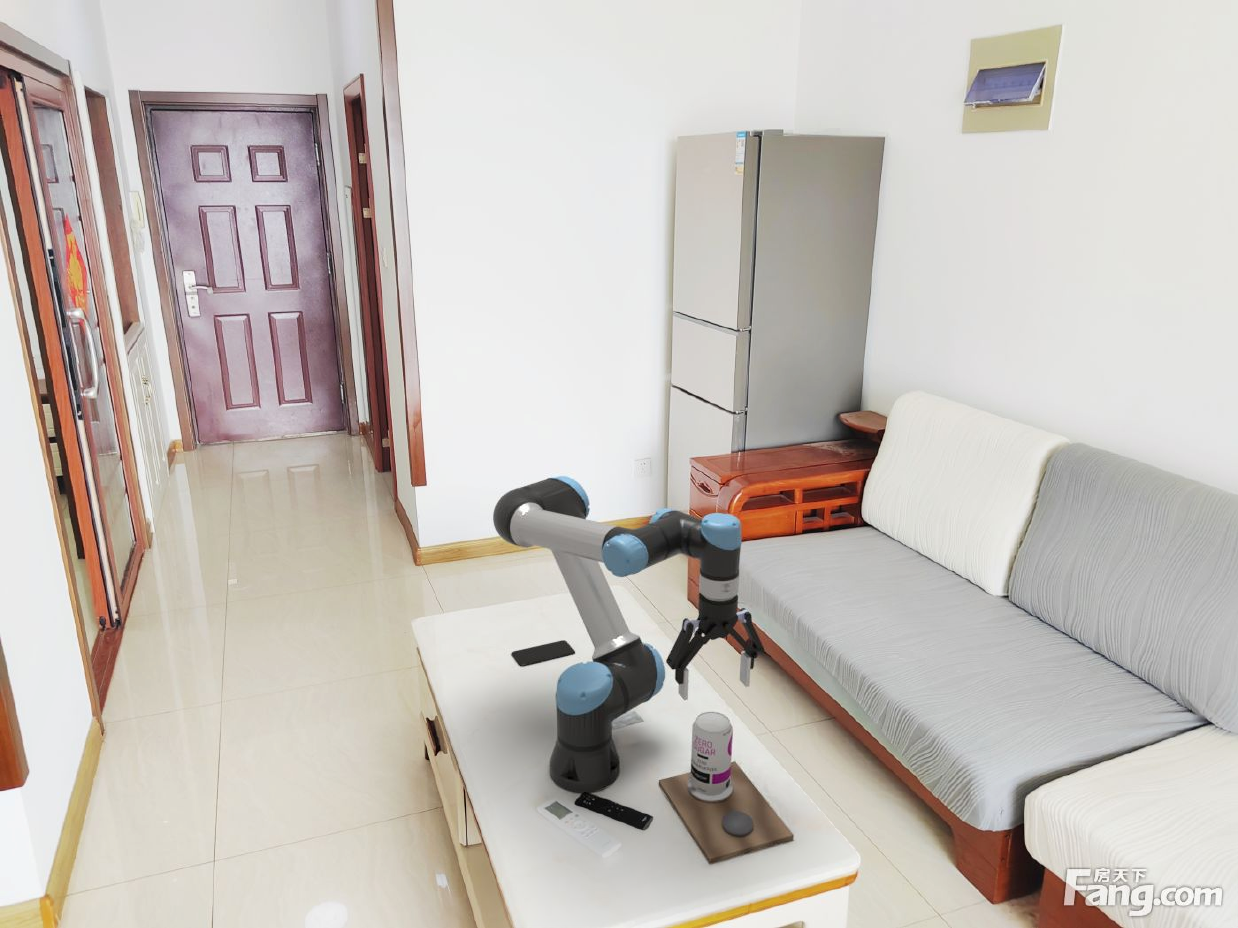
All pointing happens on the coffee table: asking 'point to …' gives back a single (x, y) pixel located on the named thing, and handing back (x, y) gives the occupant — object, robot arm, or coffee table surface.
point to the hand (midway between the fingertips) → (714, 689)
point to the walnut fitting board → (708, 816)
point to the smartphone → (542, 653)
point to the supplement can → (711, 753)
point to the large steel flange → (709, 798)
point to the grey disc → (737, 823)
